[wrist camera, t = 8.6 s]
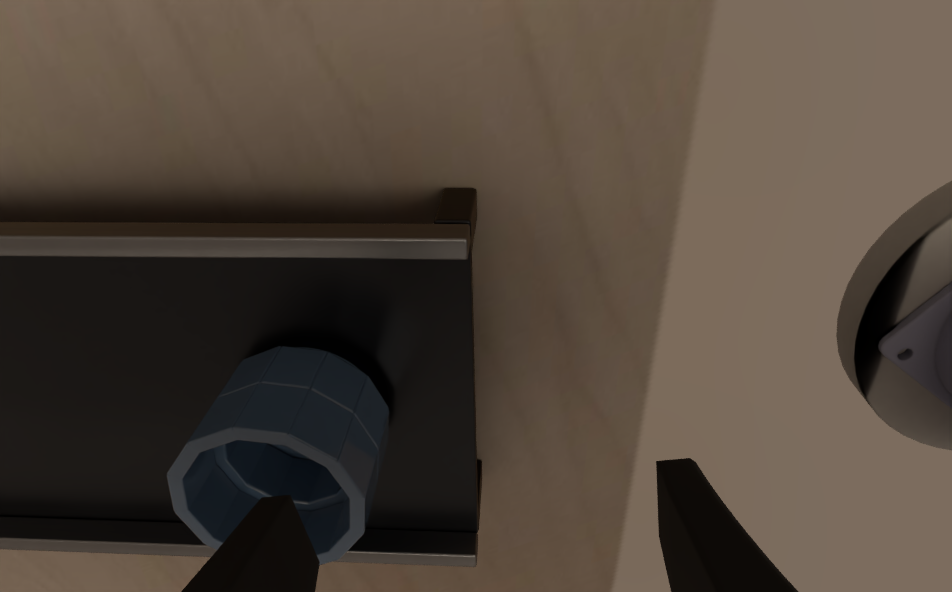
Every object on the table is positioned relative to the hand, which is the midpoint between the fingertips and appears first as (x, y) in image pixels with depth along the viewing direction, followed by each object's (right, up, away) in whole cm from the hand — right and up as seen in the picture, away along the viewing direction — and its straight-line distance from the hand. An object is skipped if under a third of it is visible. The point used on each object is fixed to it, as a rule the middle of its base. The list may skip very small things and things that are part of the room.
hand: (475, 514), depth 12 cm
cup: (-5, +1, +7) cm, 9 cm away
